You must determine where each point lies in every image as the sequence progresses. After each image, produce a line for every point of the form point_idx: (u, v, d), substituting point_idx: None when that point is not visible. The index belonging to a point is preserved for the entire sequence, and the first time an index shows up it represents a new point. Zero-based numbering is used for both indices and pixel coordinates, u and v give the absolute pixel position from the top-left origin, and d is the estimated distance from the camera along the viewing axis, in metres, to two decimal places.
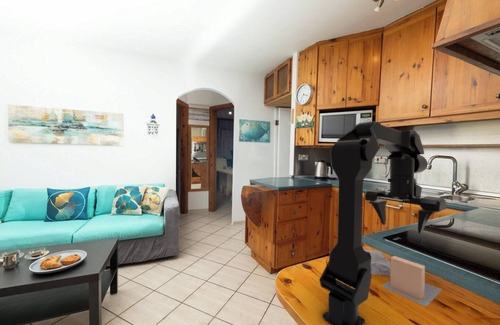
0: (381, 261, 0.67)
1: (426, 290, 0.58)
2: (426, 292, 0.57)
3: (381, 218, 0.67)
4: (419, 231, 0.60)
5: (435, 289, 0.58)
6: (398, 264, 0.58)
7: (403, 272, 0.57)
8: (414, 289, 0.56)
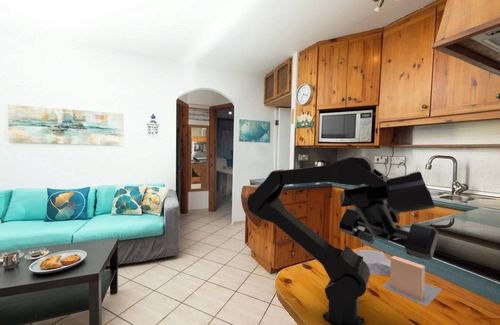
0: (383, 261, 0.67)
1: (426, 290, 0.58)
2: (426, 292, 0.57)
3: (367, 241, 0.56)
4: None
5: (435, 289, 0.58)
6: (398, 264, 0.58)
7: (403, 272, 0.57)
8: (414, 289, 0.56)
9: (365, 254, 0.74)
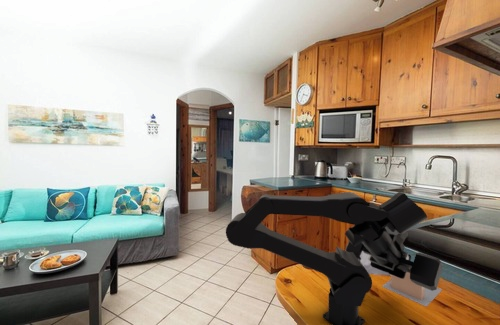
0: None
1: (426, 290, 0.58)
2: (426, 292, 0.57)
3: None
4: None
5: None
6: None
7: None
8: (414, 289, 0.56)
9: (367, 254, 0.74)
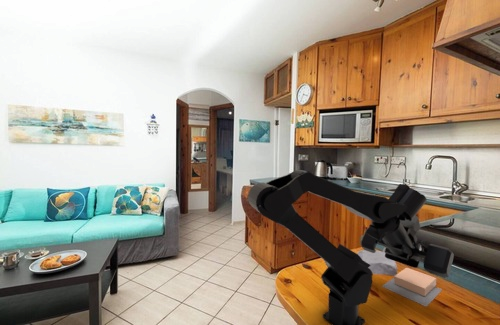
0: (386, 260, 0.67)
1: None
2: None
3: (405, 264, 0.58)
4: None
5: (435, 289, 0.58)
6: (412, 271, 0.64)
7: (415, 274, 0.62)
8: (420, 283, 0.58)
9: (367, 254, 0.74)
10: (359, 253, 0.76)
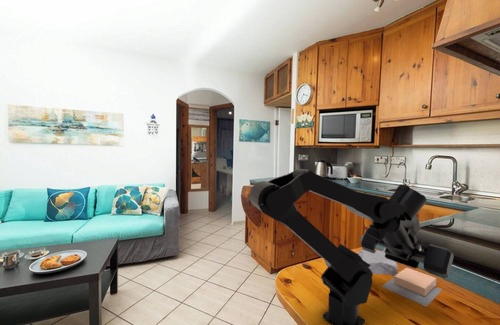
0: (387, 260, 0.67)
1: None
2: None
3: None
4: None
5: (435, 289, 0.58)
6: (412, 271, 0.64)
7: (415, 274, 0.62)
8: (420, 283, 0.58)
9: (368, 253, 0.74)
10: (359, 253, 0.76)
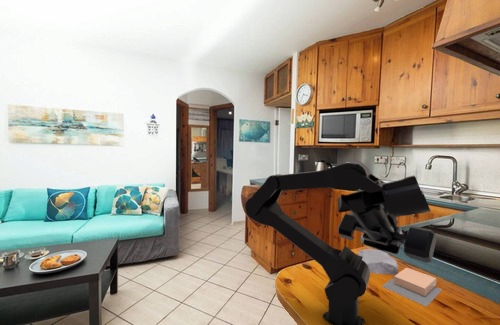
0: (387, 260, 0.67)
1: None
2: None
3: (386, 252, 0.52)
4: (392, 254, 0.52)
5: (435, 289, 0.58)
6: (412, 271, 0.64)
7: (415, 274, 0.62)
8: (420, 283, 0.58)
9: (368, 253, 0.74)
10: (360, 252, 0.76)
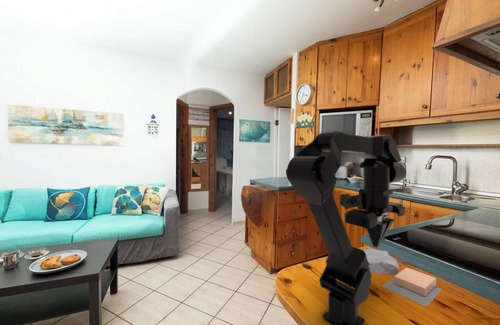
0: (388, 260, 0.68)
1: None
2: None
3: (380, 240, 0.55)
4: (380, 243, 0.56)
5: (435, 289, 0.58)
6: (412, 271, 0.64)
7: (415, 274, 0.62)
8: (420, 283, 0.58)
9: (369, 253, 0.74)
10: None
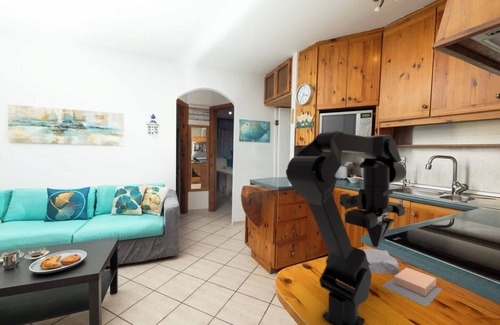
0: (388, 260, 0.68)
1: None
2: None
3: (380, 240, 0.55)
4: None
5: (435, 289, 0.58)
6: (412, 271, 0.64)
7: (415, 274, 0.62)
8: (420, 283, 0.58)
9: (369, 253, 0.74)
10: None
